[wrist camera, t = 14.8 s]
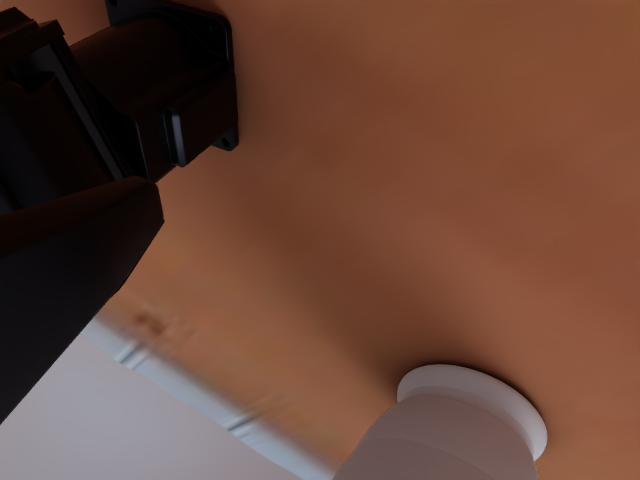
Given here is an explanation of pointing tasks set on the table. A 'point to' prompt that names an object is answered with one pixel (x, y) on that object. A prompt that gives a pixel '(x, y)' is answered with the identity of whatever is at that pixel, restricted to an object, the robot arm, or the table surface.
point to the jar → (451, 431)
